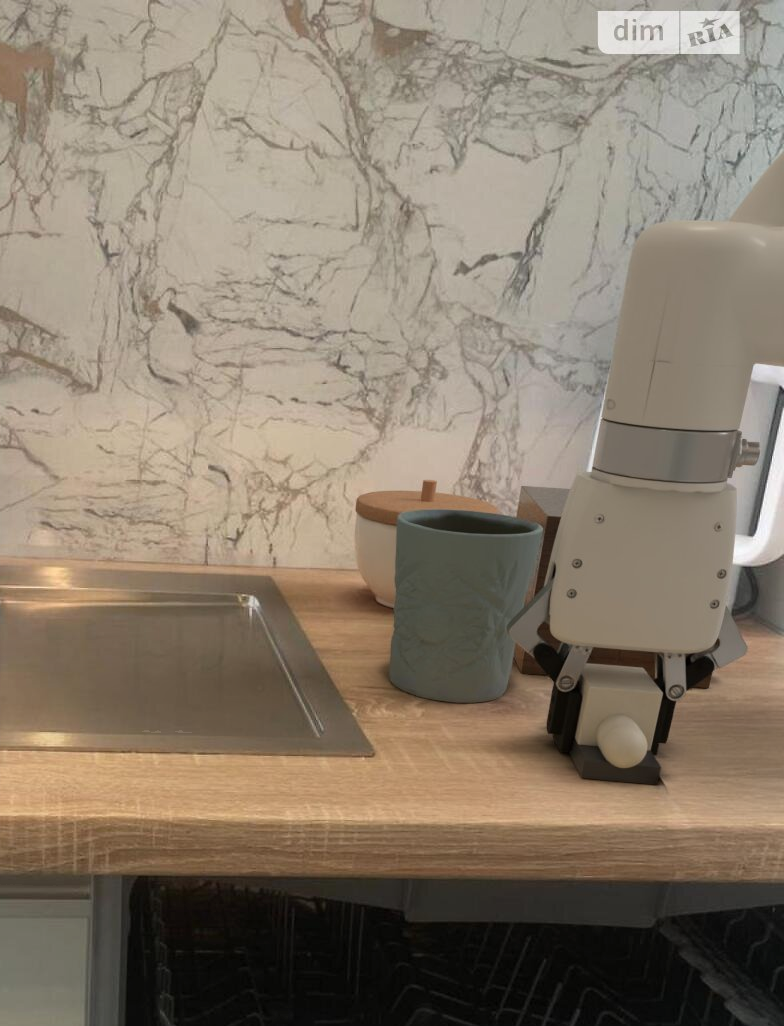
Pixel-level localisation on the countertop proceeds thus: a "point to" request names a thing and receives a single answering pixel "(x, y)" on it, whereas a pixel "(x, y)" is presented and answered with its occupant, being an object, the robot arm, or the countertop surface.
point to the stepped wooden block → (547, 513)
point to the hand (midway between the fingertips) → (603, 745)
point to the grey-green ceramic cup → (458, 601)
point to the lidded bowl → (395, 530)
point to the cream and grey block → (617, 724)
